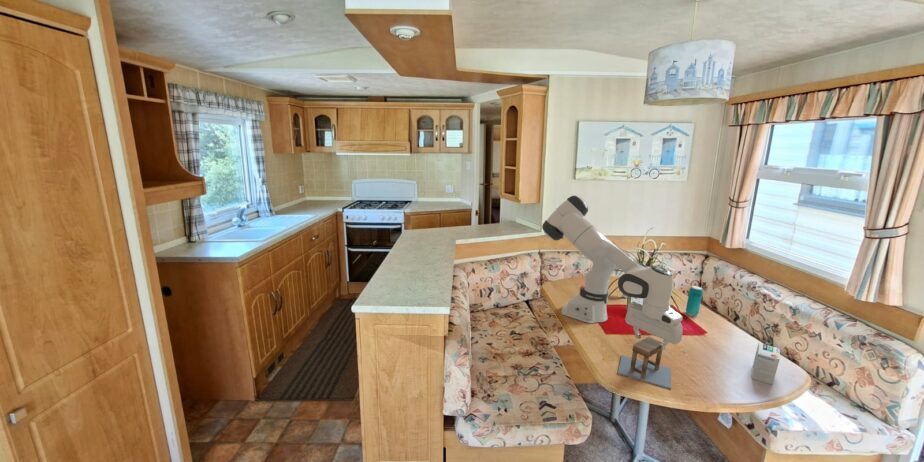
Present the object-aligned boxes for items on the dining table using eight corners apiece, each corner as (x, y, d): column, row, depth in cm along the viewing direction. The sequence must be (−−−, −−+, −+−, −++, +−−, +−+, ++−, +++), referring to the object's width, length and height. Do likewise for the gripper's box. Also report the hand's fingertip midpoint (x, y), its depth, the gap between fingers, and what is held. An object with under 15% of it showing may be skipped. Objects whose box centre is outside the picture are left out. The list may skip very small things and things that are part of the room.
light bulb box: (752, 365, 151) (758, 341, 149) (773, 372, 147) (780, 348, 144) (750, 378, 143) (757, 352, 141) (773, 385, 139) (780, 359, 136)
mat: (617, 373, 143) (617, 372, 143) (621, 356, 155) (621, 355, 155) (670, 389, 135) (671, 388, 135) (670, 369, 147) (670, 368, 147)
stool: (648, 336, 148) (633, 344, 141) (664, 343, 143) (648, 352, 137) (644, 362, 150) (629, 371, 144) (659, 369, 146) (644, 379, 139)
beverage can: (699, 317, 192) (705, 290, 189) (687, 316, 193) (692, 288, 190) (695, 312, 198) (700, 285, 194) (683, 311, 199) (688, 284, 195)
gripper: (624, 301, 145) (619, 333, 149) (678, 323, 129) (672, 358, 132) (633, 298, 149) (629, 329, 152) (687, 318, 133) (681, 353, 136)
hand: (649, 343), depth 142 cm, fingers open, 8 cm apart
